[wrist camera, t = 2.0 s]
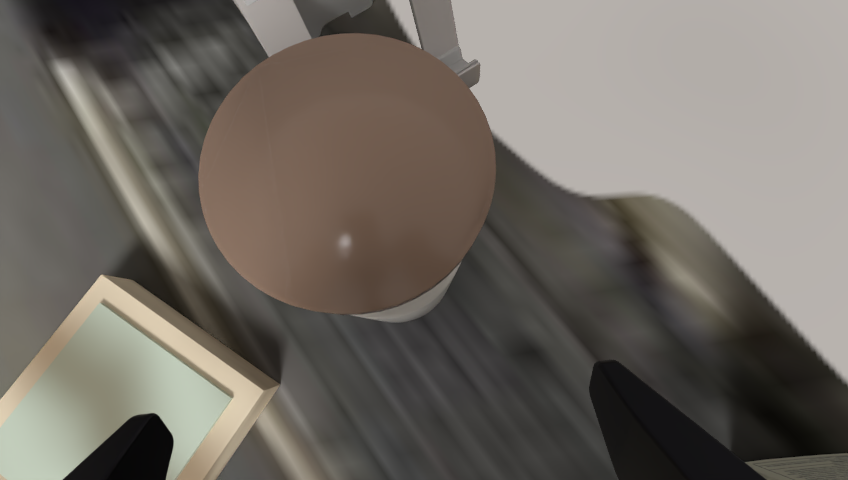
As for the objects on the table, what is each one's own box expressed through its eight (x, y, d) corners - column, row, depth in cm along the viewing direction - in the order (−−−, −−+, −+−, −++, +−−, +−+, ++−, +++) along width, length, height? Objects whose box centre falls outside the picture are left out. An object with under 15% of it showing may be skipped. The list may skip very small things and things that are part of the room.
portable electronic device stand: (340, 173, 22) (288, 78, 13) (266, 61, 23) (179, -87, 15) (477, 90, 23) (506, -46, 14) (398, -13, 24) (384, -190, 16)
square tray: (153, 572, 18) (115, 605, 16) (0, 448, 19) (-56, 463, 17) (280, 384, 19) (262, 391, 17) (132, 279, 20) (98, 273, 18)
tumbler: (413, 346, 20) (388, 377, 7) (318, 283, 20) (136, 206, 8) (474, 249, 21) (550, 120, 8) (381, 192, 21) (314, -12, 9)
